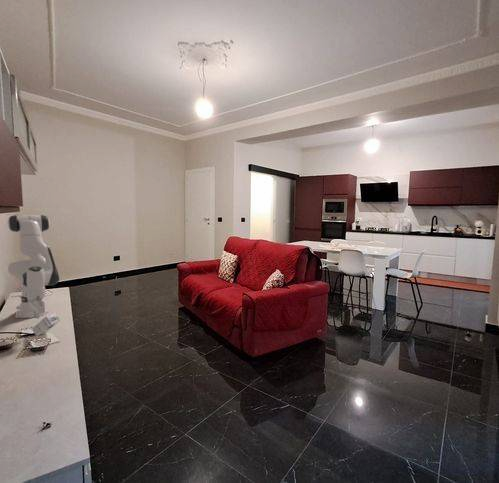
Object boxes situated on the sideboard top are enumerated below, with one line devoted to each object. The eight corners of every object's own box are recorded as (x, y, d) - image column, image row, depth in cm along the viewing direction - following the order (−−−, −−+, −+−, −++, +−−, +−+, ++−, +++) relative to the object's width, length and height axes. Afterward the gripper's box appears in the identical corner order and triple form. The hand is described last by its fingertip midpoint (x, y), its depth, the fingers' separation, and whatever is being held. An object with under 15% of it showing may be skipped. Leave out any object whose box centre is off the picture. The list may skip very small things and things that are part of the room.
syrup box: (36, 336, 170) (52, 324, 167) (31, 328, 171) (46, 315, 167) (45, 333, 176) (60, 320, 172) (40, 324, 176) (55, 312, 173)
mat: (26, 339, 166) (26, 338, 166) (50, 333, 176) (50, 332, 175) (34, 348, 156) (34, 347, 156) (59, 341, 165) (59, 340, 165)
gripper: (48, 297, 166) (48, 321, 167) (37, 290, 180) (38, 312, 181) (34, 299, 162) (35, 323, 163) (25, 292, 175) (25, 314, 176)
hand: (36, 317), depth 172 cm, fingers closed
